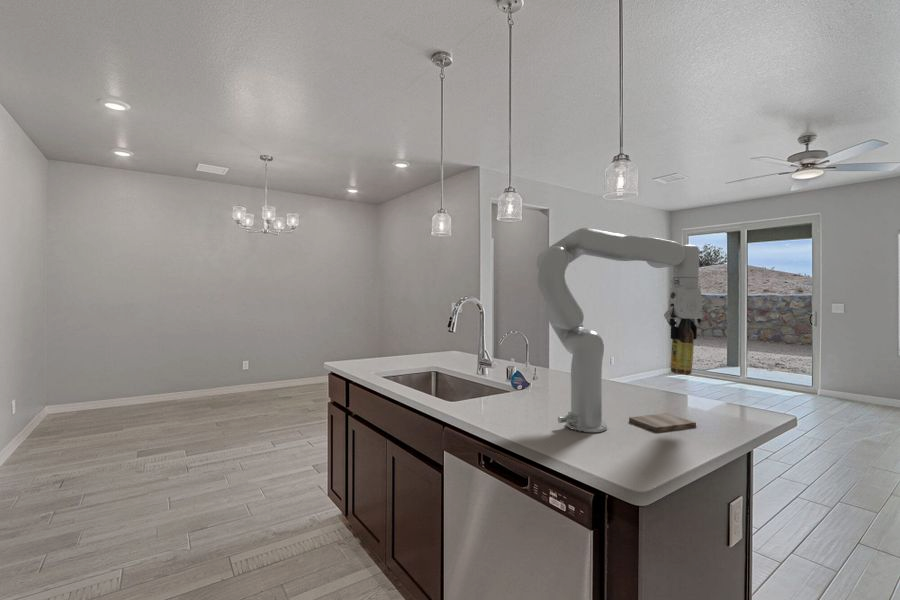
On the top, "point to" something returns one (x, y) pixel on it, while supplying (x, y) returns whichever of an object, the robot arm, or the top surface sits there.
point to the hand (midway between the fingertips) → (683, 338)
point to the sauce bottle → (683, 349)
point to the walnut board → (662, 422)
